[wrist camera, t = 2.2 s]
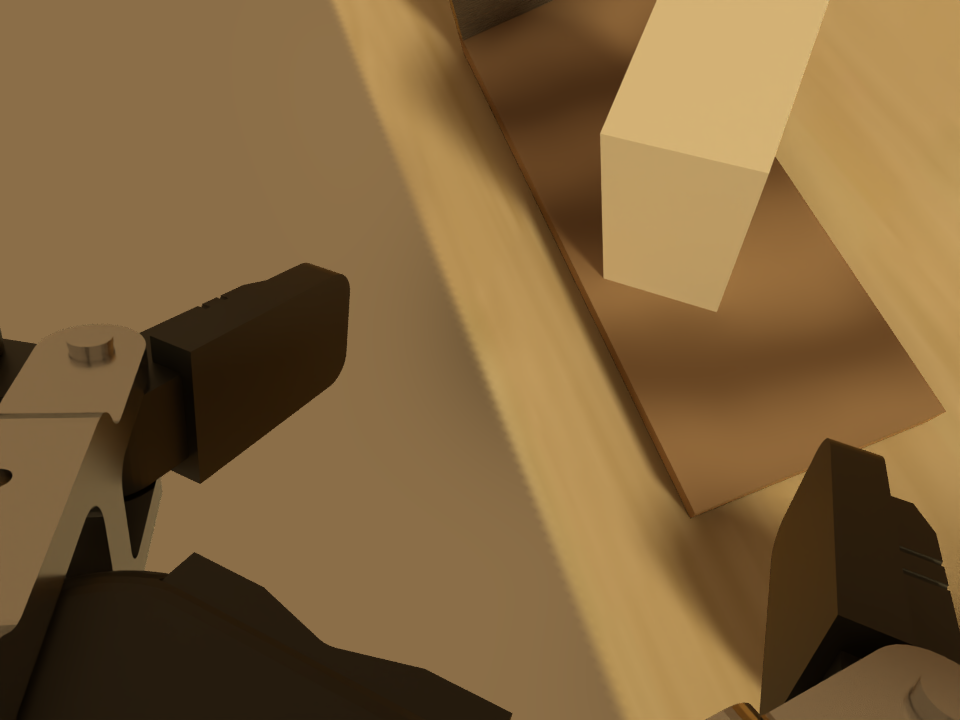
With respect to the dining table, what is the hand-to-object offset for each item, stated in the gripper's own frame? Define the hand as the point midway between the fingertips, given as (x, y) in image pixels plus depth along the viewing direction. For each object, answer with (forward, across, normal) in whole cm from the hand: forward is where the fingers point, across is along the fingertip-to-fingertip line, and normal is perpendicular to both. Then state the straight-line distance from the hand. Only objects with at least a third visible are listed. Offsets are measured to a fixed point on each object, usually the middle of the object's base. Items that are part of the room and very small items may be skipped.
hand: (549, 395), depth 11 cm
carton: (+18, 0, +2) cm, 18 cm away
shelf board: (+20, +1, +2) cm, 20 cm away
